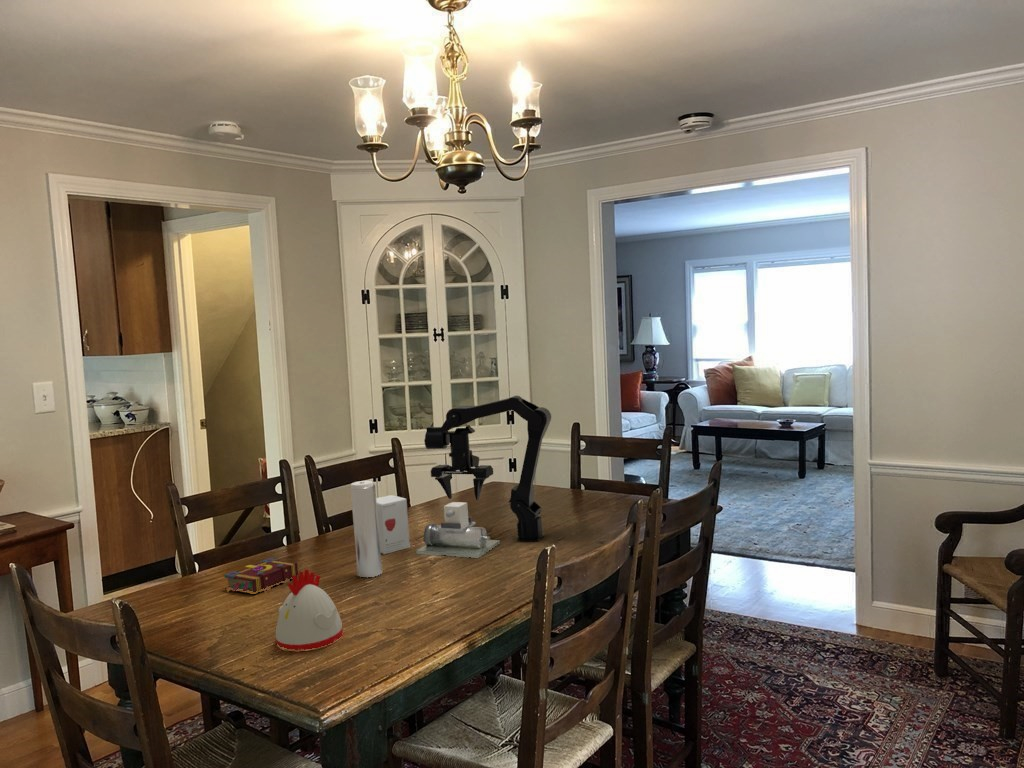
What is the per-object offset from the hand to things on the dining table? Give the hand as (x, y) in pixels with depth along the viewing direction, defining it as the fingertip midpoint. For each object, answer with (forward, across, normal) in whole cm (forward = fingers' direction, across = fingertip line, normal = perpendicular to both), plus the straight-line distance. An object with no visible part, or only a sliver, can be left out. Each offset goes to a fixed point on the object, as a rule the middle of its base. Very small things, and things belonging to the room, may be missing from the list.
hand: (463, 499), depth 237 cm
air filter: (+12, +11, +36) cm, 40 cm away
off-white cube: (+5, -3, +11) cm, 12 cm away
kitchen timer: (+12, -1, +77) cm, 78 cm away
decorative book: (+12, +36, +50) cm, 63 cm away
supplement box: (+12, +18, +14) cm, 26 cm away
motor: (+12, -3, +11) cm, 16 cm away
